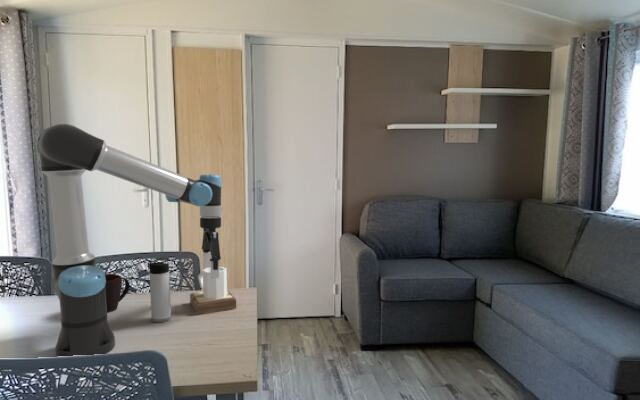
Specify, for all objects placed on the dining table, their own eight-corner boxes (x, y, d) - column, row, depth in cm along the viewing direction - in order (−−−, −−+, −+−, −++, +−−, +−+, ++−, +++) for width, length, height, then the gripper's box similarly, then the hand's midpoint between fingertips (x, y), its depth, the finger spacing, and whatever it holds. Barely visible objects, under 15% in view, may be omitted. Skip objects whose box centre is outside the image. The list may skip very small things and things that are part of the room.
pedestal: (236, 308, 160) (236, 298, 160) (197, 314, 154) (196, 303, 154) (226, 297, 173) (226, 287, 172) (190, 302, 167) (190, 292, 166)
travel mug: (146, 321, 148) (144, 263, 146) (161, 314, 154) (159, 259, 152) (159, 324, 145) (157, 265, 143) (174, 317, 151) (172, 261, 149)
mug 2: (231, 293, 164) (230, 268, 163) (215, 300, 157) (215, 273, 156) (207, 289, 170) (206, 264, 169) (191, 295, 163) (190, 269, 162)
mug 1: (85, 311, 157) (83, 279, 156) (121, 300, 169) (119, 270, 167) (101, 317, 152) (99, 283, 150) (136, 305, 163) (135, 274, 162)
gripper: (229, 220, 150) (229, 281, 152) (213, 212, 173) (213, 265, 175) (207, 221, 147) (207, 283, 149) (193, 213, 169) (194, 266, 171)
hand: (210, 273), depth 162 cm, fingers open, 13 cm apart
